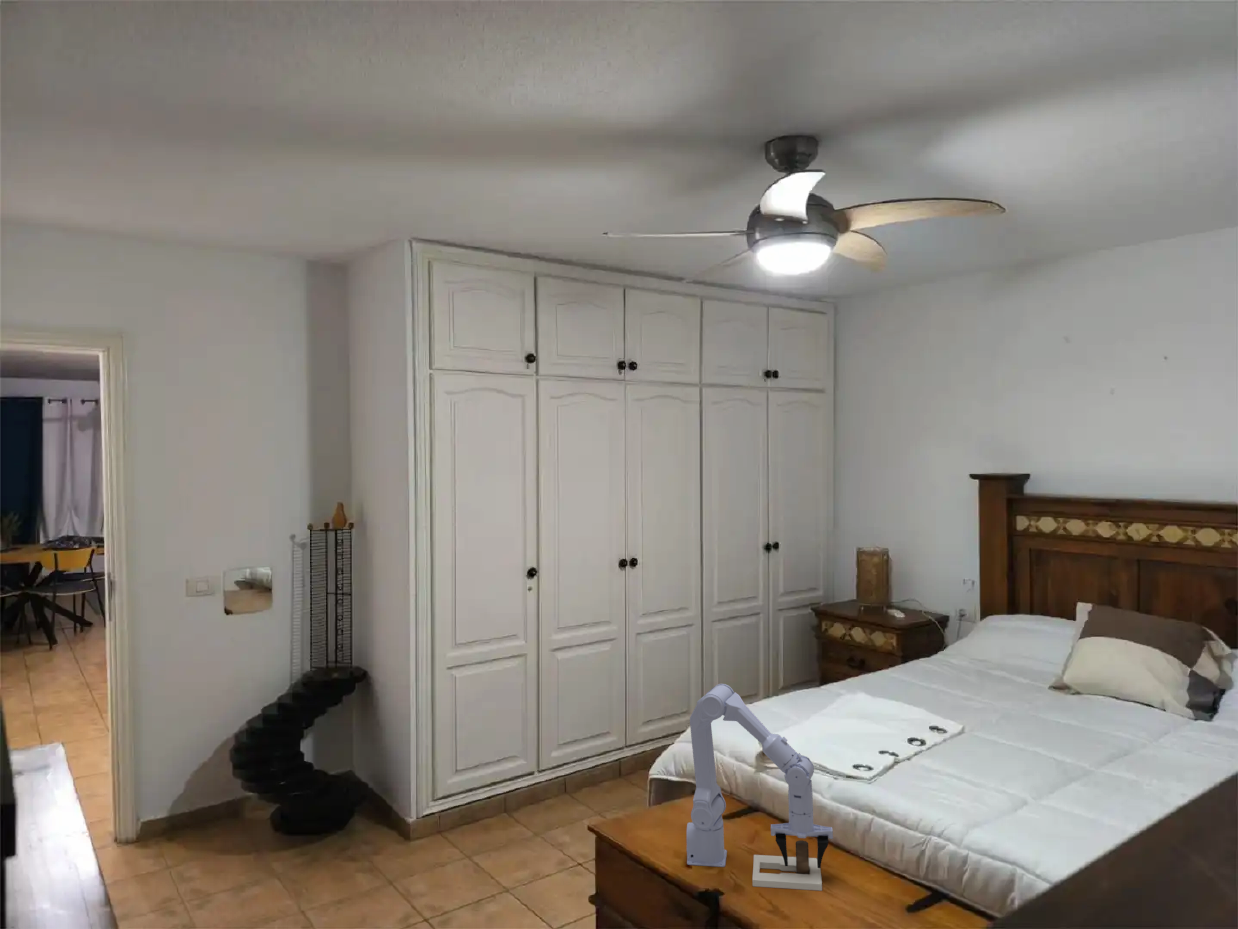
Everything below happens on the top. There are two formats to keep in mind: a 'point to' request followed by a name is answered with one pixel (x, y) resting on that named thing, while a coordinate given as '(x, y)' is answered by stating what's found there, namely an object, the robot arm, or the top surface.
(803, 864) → the peg
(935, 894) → the top surface
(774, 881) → the keyhole plate
